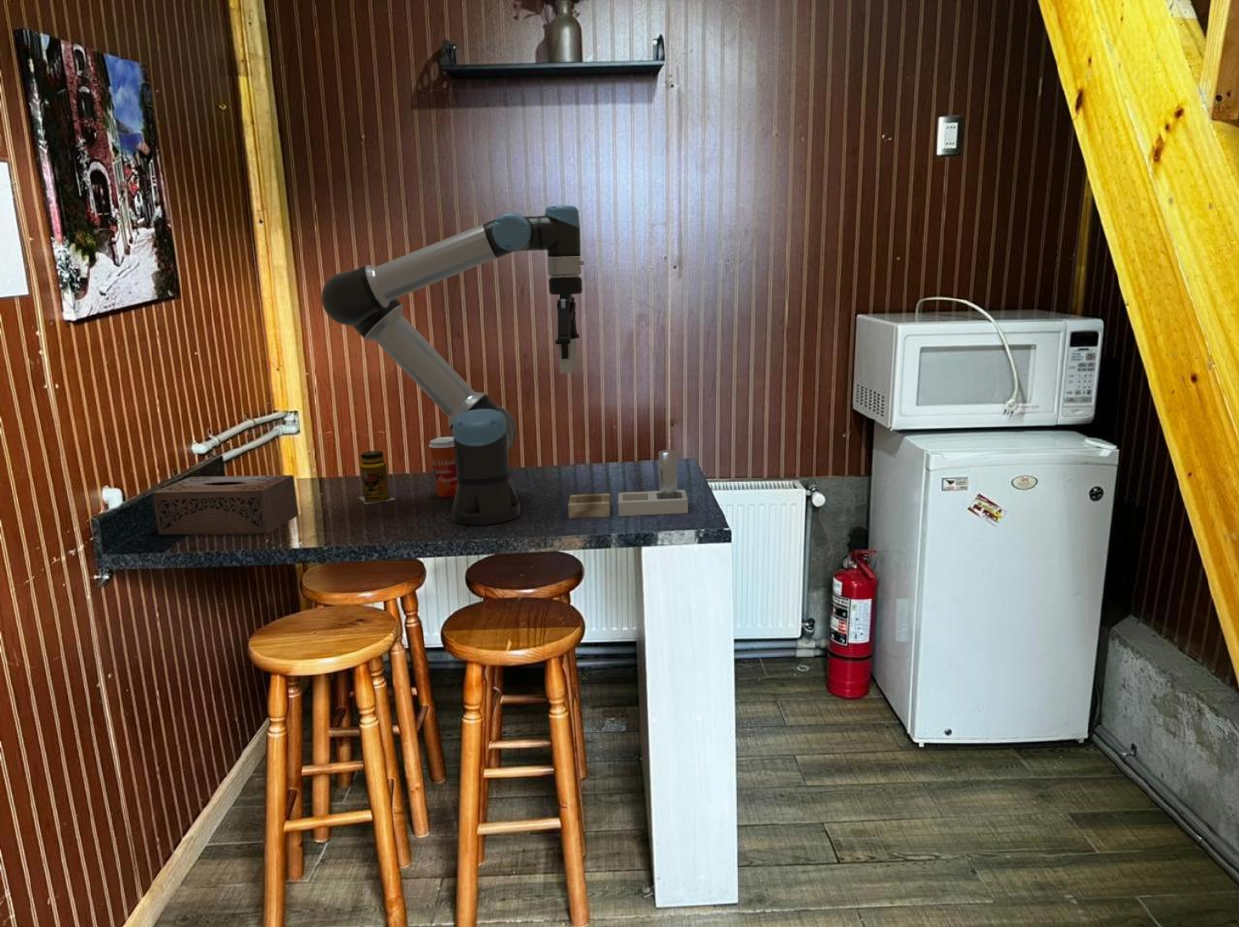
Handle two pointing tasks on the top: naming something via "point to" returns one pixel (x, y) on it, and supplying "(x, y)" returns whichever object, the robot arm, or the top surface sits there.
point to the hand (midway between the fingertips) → (569, 369)
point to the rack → (651, 503)
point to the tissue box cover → (225, 505)
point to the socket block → (589, 505)
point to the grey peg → (668, 474)
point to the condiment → (374, 478)
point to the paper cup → (444, 466)
